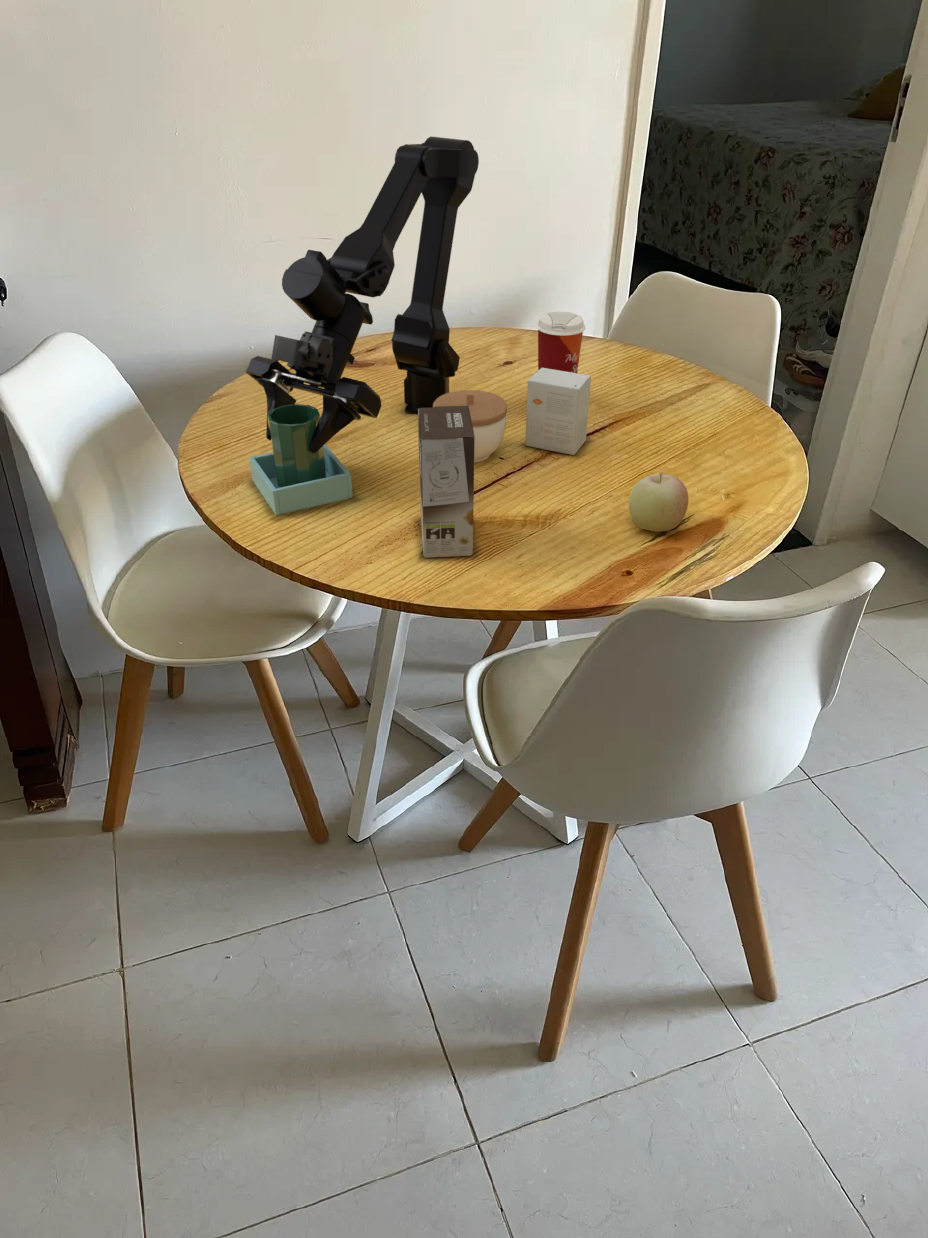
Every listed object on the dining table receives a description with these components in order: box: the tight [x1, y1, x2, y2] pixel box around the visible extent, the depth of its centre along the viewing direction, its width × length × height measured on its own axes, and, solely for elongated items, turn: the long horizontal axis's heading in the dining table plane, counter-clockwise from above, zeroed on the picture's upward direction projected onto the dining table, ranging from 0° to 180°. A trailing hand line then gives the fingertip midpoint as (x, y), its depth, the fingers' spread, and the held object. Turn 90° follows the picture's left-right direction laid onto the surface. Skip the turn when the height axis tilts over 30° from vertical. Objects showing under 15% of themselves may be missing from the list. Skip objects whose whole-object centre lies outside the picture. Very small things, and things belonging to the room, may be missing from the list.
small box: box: [525, 368, 592, 456], centre depth 136 cm, size 8×6×10 cm
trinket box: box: [433, 389, 509, 464], centre depth 134 cm, size 11×11×9 cm
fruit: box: [628, 471, 689, 533], centre depth 118 cm, size 8×7×8 cm
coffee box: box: [417, 406, 475, 558], centre depth 112 cm, size 9×6×16 cm
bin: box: [248, 443, 354, 516], centre depth 126 cm, size 11×11×4 cm
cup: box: [266, 403, 326, 488], centre depth 123 cm, size 7×7×10 cm
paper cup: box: [535, 311, 586, 373], centre depth 147 cm, size 8×8×14 cm
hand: (289, 445), depth 121 cm, fingers closed on cup, 7 cm apart
